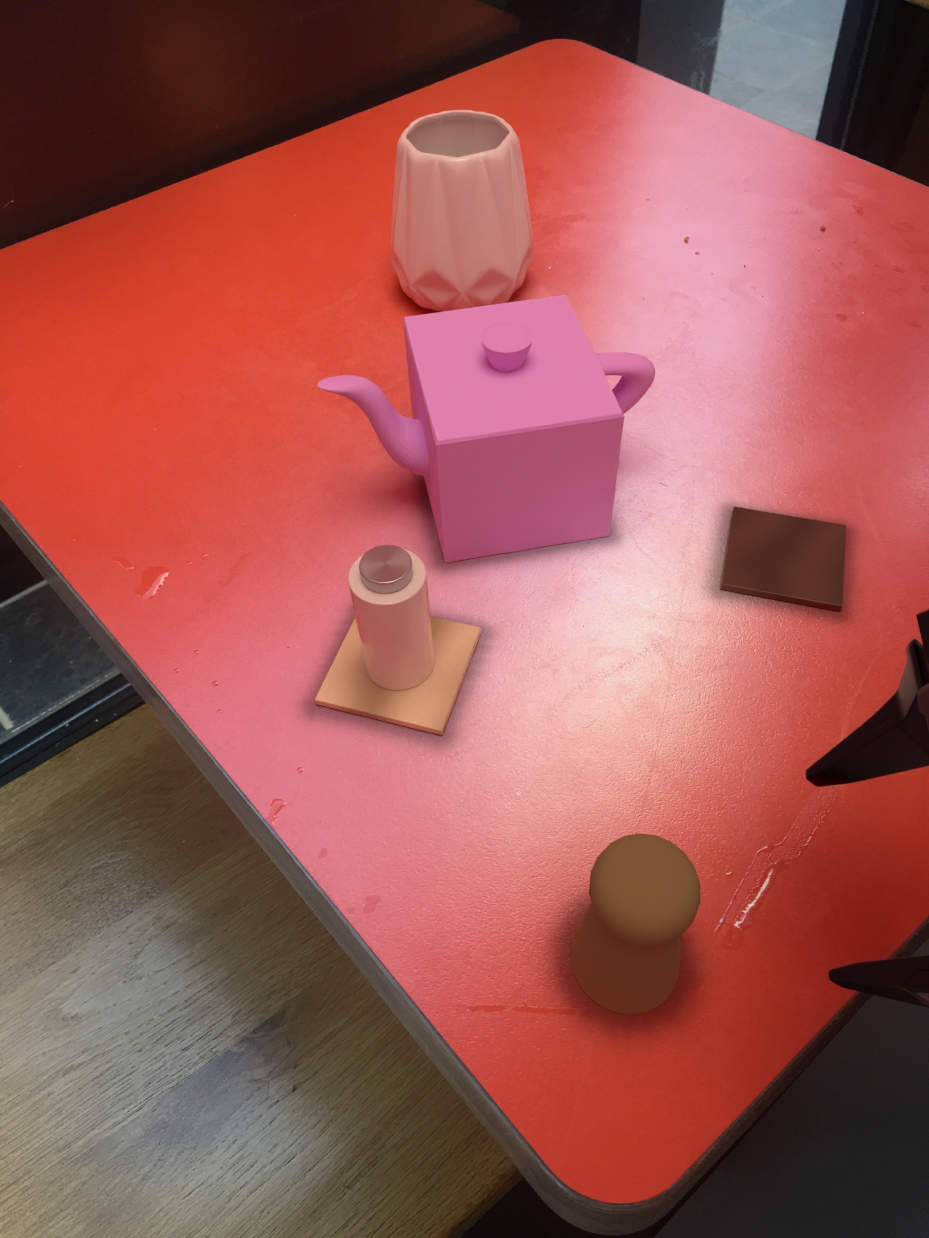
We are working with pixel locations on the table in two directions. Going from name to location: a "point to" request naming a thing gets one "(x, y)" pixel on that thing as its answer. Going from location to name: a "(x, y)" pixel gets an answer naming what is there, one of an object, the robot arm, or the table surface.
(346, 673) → the pale mat
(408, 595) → the salt shaker
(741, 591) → the dark mat
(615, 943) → the cork
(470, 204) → the vase
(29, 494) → the table surface
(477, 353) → the teapot
